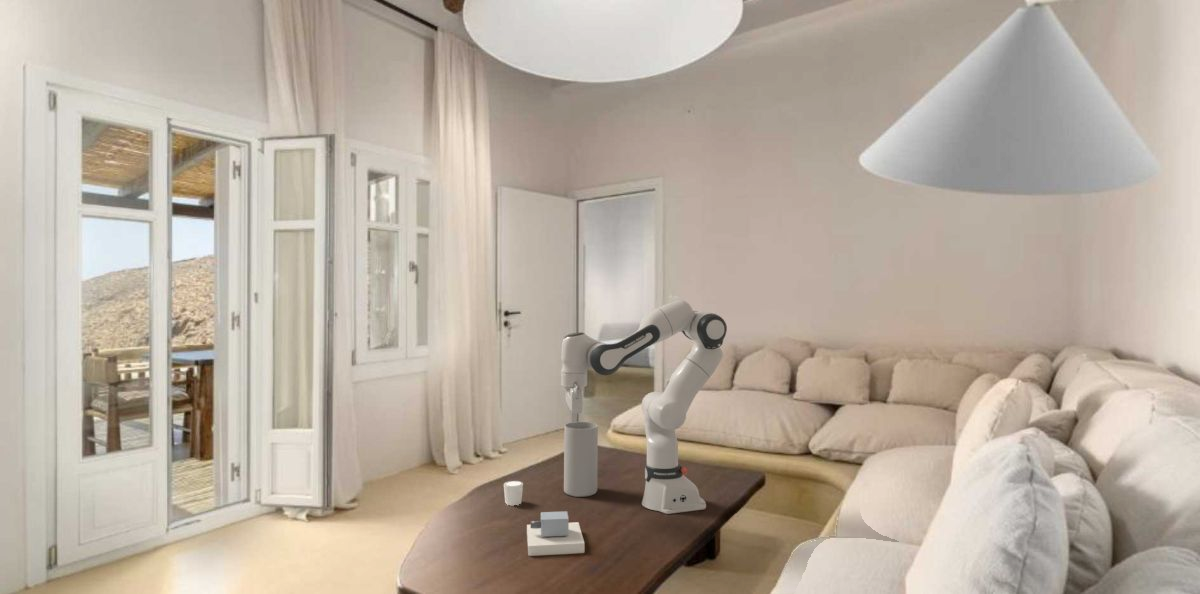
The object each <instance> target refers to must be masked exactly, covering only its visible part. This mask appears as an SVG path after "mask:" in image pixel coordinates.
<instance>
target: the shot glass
mask: <svg viewBox="0 0 1200 594" xmlns="http://www.w3.org/2000/svg"><path fill="white" fill-rule="evenodd" d="M523 489H524V482H522V481H520V480H508V481H506V482H504V483H503V493H504V503H506V504H507V505H506V504H505V505H506V506H508V505H510V507H515V506H514V505H517V506H520V505H521V504H522V499H523ZM519 504H520V505H519Z"/></svg>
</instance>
